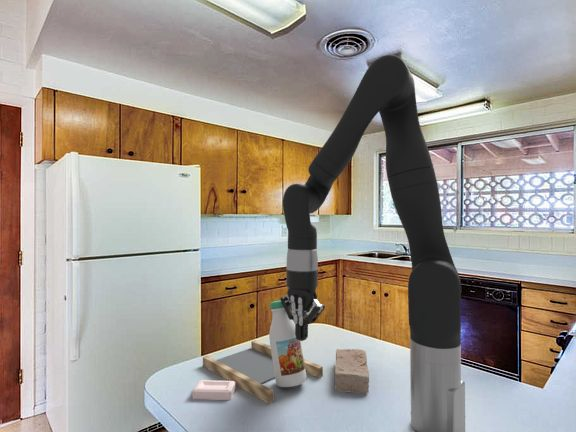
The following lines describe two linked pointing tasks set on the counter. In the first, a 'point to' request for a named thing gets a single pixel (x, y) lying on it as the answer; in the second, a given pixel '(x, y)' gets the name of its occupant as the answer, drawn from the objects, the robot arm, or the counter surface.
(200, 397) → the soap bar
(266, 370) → the mat
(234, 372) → the rails
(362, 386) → the brick
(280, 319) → the milk bottle
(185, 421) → the counter surface
